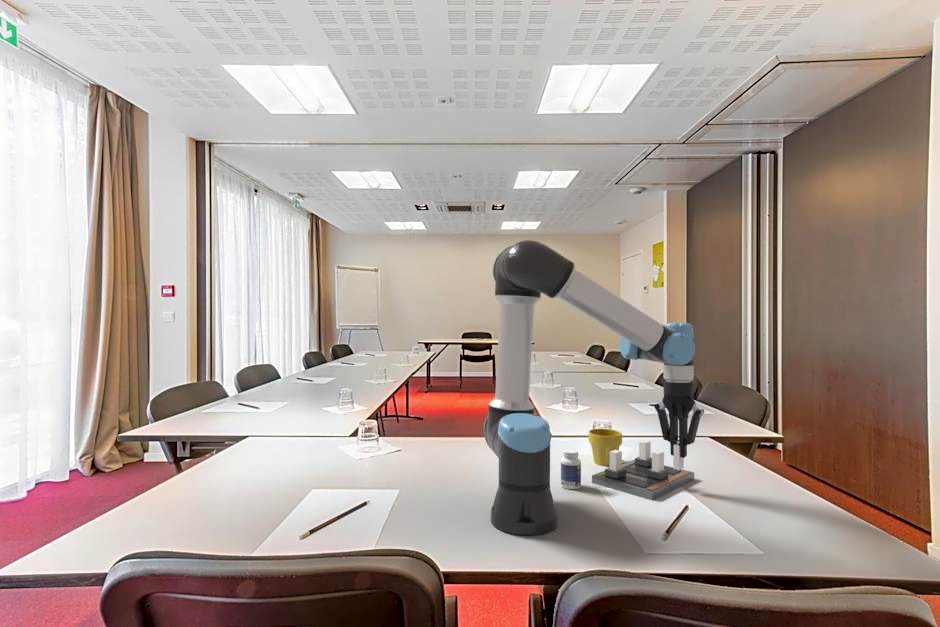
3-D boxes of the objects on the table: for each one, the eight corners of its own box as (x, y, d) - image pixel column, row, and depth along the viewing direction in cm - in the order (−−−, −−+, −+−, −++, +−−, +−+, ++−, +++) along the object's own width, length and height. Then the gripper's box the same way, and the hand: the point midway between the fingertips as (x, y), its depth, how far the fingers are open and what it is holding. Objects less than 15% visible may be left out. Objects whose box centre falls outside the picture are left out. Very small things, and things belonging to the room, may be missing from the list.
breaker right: (647, 466, 149) (647, 444, 149) (634, 463, 152) (635, 441, 152) (654, 463, 152) (654, 441, 152) (642, 460, 155) (642, 439, 155)
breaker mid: (660, 479, 138) (660, 455, 138) (647, 476, 141) (647, 452, 141) (668, 476, 141) (668, 452, 141) (654, 472, 144) (655, 449, 144)
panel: (652, 500, 129) (652, 491, 129) (591, 482, 142) (591, 474, 142) (694, 479, 145) (694, 471, 145) (636, 465, 159) (636, 458, 159)
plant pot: (626, 468, 156) (626, 436, 156) (592, 467, 156) (592, 435, 156) (617, 458, 166) (617, 428, 166) (585, 458, 166) (585, 428, 166)
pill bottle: (581, 490, 136) (581, 454, 136) (560, 489, 137) (560, 453, 137) (580, 483, 141) (580, 448, 141) (561, 482, 142) (561, 447, 142)
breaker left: (617, 478, 138) (617, 454, 138) (604, 475, 141) (604, 451, 141) (626, 475, 141) (626, 451, 141) (613, 471, 144) (613, 448, 144)
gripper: (709, 381, 134) (709, 471, 134) (662, 377, 144) (662, 460, 144) (696, 384, 129) (696, 477, 129) (648, 379, 139) (648, 466, 139)
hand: (678, 468), depth 136 cm, fingers closed
